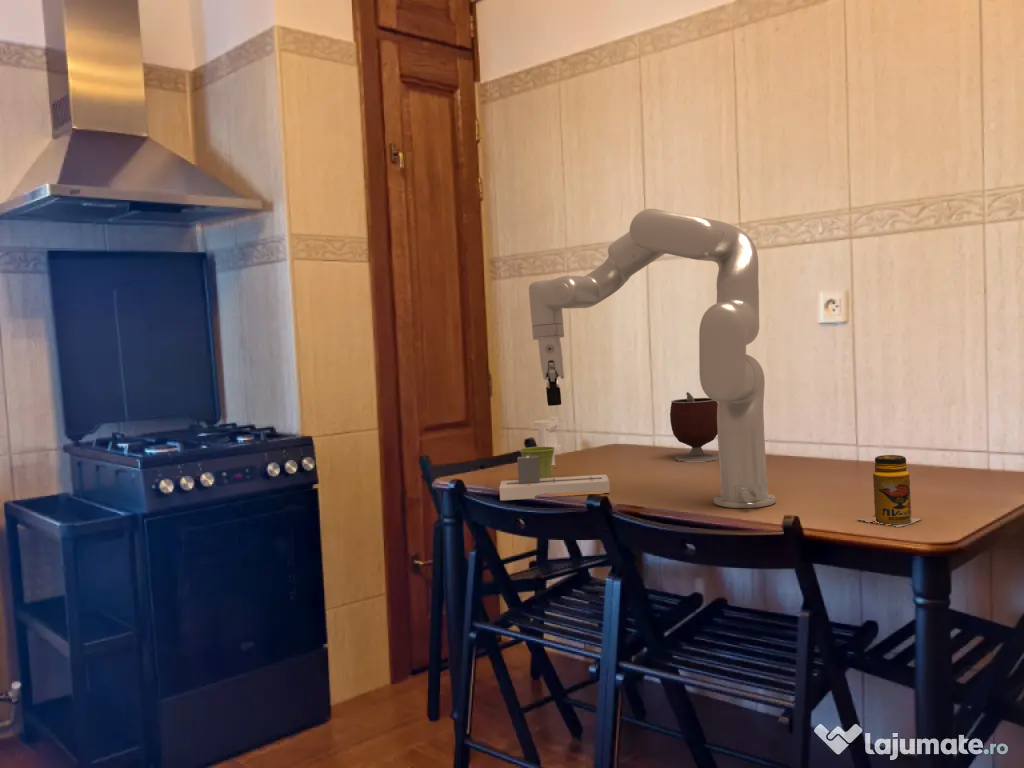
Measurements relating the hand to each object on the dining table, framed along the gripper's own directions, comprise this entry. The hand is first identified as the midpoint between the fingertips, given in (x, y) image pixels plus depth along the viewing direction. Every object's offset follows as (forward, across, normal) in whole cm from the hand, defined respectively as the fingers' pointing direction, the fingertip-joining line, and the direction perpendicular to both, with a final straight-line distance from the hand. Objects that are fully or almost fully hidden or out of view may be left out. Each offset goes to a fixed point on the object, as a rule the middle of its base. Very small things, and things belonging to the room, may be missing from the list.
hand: (554, 403), depth 203 cm
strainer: (+22, +40, +2) cm, 46 cm away
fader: (+18, +1, +8) cm, 20 cm away
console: (+22, +1, +2) cm, 22 cm away
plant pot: (+22, +20, +6) cm, 30 cm away
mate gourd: (+22, +40, -40) cm, 61 cm away
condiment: (+24, -46, -59) cm, 78 cm away
